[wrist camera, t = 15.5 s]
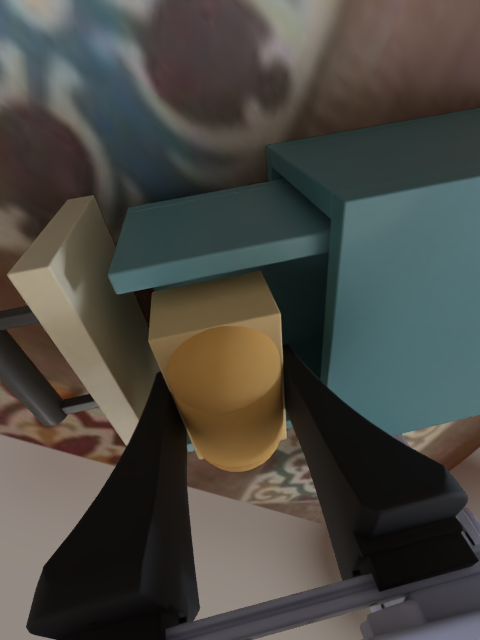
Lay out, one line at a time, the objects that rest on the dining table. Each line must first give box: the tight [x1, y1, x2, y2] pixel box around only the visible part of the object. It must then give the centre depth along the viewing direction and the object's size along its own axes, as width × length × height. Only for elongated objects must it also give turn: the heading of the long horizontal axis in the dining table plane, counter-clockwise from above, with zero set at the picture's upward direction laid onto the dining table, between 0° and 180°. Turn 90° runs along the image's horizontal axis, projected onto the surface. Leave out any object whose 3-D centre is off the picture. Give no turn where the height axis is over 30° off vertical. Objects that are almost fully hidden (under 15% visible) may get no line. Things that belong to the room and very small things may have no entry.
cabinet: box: [266, 108, 480, 436], centre depth 16 cm, size 16×14×9 cm
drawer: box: [0, 179, 331, 452], centre depth 15 cm, size 19×12×7 cm, turn 97°
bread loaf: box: [148, 271, 287, 472], centre depth 12 cm, size 8×4×4 cm, turn 7°
